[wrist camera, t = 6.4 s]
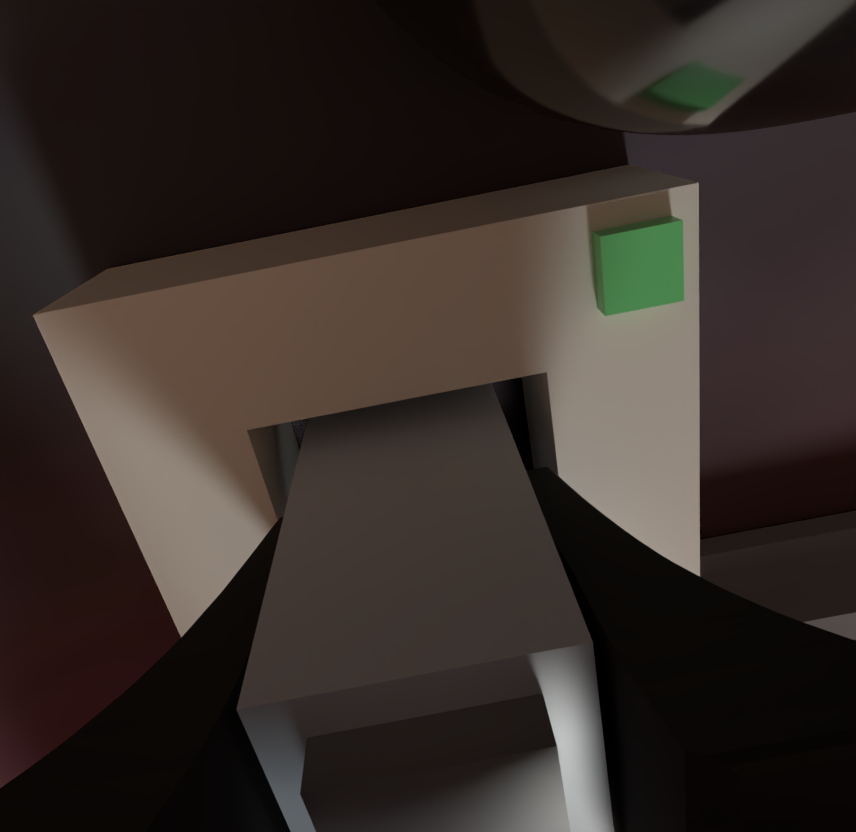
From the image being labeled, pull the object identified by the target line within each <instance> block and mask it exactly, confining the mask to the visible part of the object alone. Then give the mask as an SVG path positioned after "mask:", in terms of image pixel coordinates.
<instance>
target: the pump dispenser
mask: <svg viewBox="0 0 856 832" xmlns="http://www.w3.org/2000/svg"><path fill="white" fill-rule="evenodd" d="M374 1H375V2H376V3H377V4H378V5H379V6H380V7H381V8H382V9H383V10H384V11H385V12H386V13H387V14H388V15H389V16H390V17H391V18H392V19H393V20H394V21H395V22H396V23H397V24H398V25H399V26H400V27H401V28H402V29H403V30H404V31H405V32H406V33H407V34H409V35H410V36H411V37H412V38H413V39H414V40H415V41H417V42H418V43H419V44H420V45H421V46H422V47H424V48H425V49H426V50H427V51H429V52H430V53H431V54H432V55H434V56H435V57H436V58H438V59H439V60H440V61H442V62H443V63H445V64H446V65H447V66H449V67H450V68H452V69H453V70H454V71H456V72H457V73H459V74H461V75H462V76H464V77H465V78H467V79H468V80H470V81H472V82H473V83H475V84H477V85H479V86H481V87H482V88H484V89H486V90H488V91H489V92H491V93H493V94H495V95H498V96H500V97H502V98H504V99H506V100H508V101H510V102H512V103H515V104H517V105H519V106H522V107H524V108H527V109H529V110H532V111H535V112H538V113H540V114H543V115H546V116H550V117H553V118H556V119H559V120H563V121H567V122H571V123H575V124H579V125H583V126H588V127H593V128H599V129H604V130H611V131H619V132H627V133H639V134H654V135H701V134H718V133H728V132H739V131H747V130H755V129H762V128H769V127H775V126H782V125H788V124H793V123H799V122H805V121H810V120H816V119H821V118H827V117H832V116H837V115H842V114H847V113H852V112H856V0H374Z"/></svg>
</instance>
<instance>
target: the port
mask: <svg viewBox="0 0 856 832" xmlns="http://www.w3.org/2000/svg"><path fill="white" fill-rule="evenodd" d="M33 317H34V319H35V321H36V323H37V325H38V328H39V330H40V332H41V334H42V336H43V339H44V341H45V343H46V345H47V347H48V349H49V352H50V354H51V356H52V358H53V360H54V362H55V365H56V367H57V369H58V371H59V373H60V375H61V378H62V380H63V382H64V384H65V386H66V388H67V391H68V393H69V395H70V397H71V399H72V401H73V404H74V406H75V408H76V410H77V412H78V415H79V417H80V419H81V421H82V423H83V425H84V428H85V430H86V432H87V434H88V436H89V438H90V441H91V443H92V445H93V447H94V449H95V451H96V454H97V456H98V458H99V460H100V462H101V464H102V467H103V469H104V471H105V473H106V475H107V478H108V480H109V482H110V484H111V486H112V488H113V491H114V493H115V495H116V497H117V499H118V501H119V504H120V506H121V508H122V510H123V512H124V514H125V517H126V519H127V521H128V523H129V525H130V527H131V530H132V532H133V534H134V536H135V538H136V540H137V543H138V545H139V547H140V549H141V551H142V554H143V556H144V558H145V560H146V562H147V564H148V567H149V569H150V571H151V573H152V575H153V577H154V580H155V582H156V584H157V586H158V588H159V590H160V593H161V595H162V597H163V599H164V601H165V603H166V606H167V608H168V610H169V612H170V614H171V616H172V619H173V621H174V623H175V625H176V627H177V630H178V632H179V634H180V636H181V637H182V636H183V635H184V634H185V633H186V632H187V631H188V629H189V628H190V627H191V626H192V625H193V624H194V623H195V622H196V620H197V619H198V618H199V617H200V616H201V615H202V614H203V612H204V611H205V610H206V609H207V608H208V607H209V606H210V605H211V603H212V602H213V601H214V600H215V599H216V598H217V597H218V595H219V594H220V593H221V592H222V591H223V590H224V588H225V587H226V586H227V585H228V583H229V582H230V581H231V580H232V578H233V577H234V576H235V575H236V573H237V572H238V571H239V569H240V568H241V567H242V566H243V564H244V563H245V562H246V561H247V559H248V558H249V557H250V556H251V554H252V553H253V552H254V550H255V549H256V548H257V546H258V545H259V544H260V542H261V541H262V540H263V539H264V537H265V536H266V535H267V533H268V532H269V531H270V529H271V528H272V527H273V526H274V524H275V523H276V522H277V521H278V520H279V518H280V517H284V513H285V509H286V505H287V501H288V497H289V493H290V489H291V485H292V480H293V476H294V472H295V468H296V464H297V460H298V456H299V452H300V450H299V446H298V443H297V440H296V437H295V433H294V430H293V427H292V423H291V422H292V421H297V420H302V419H307V418H312V417H317V416H323V415H328V414H333V413H338V412H343V411H348V410H354V409H359V408H364V407H369V406H374V405H379V404H385V403H390V402H395V401H400V400H405V399H410V398H416V397H421V396H426V395H431V394H436V393H441V392H447V391H452V390H457V389H462V388H467V387H472V386H478V385H483V384H488V383H493V382H498V381H503V380H509V379H514V378H519V377H522V384H523V392H524V400H525V407H526V415H527V423H528V430H529V438H530V445H531V453H532V461H533V468H534V469H537V468H542V467H548V468H549V469H551V470H552V471H554V472H555V473H556V474H557V475H558V476H559V477H560V478H561V479H562V480H563V481H565V482H566V483H567V484H568V485H569V486H570V487H571V488H572V489H574V490H575V491H576V492H577V493H578V494H579V495H581V496H582V497H583V498H584V499H585V500H586V501H588V502H589V503H590V504H591V505H592V506H594V507H595V508H596V509H597V510H599V511H600V512H601V513H603V514H604V515H605V516H606V517H608V518H609V519H610V520H612V521H613V522H614V523H616V524H617V525H618V526H620V527H621V528H622V529H624V530H625V531H626V532H628V533H629V534H631V535H632V536H633V537H635V538H636V539H638V540H639V541H641V542H642V543H644V544H645V545H647V546H648V547H650V548H651V549H653V550H654V551H656V552H657V553H659V554H660V555H662V556H664V557H665V558H667V559H669V560H670V561H672V562H674V563H676V564H677V565H679V566H681V567H683V568H685V569H687V570H688V571H690V572H692V573H694V574H696V575H698V576H700V439H699V183H698V182H694V181H690V180H687V179H683V178H679V177H675V176H671V175H667V174H664V173H660V172H656V171H652V170H648V169H645V168H641V167H637V166H633V165H624V166H619V167H614V168H609V169H604V170H599V171H594V172H589V173H584V174H579V175H574V176H569V177H564V178H559V179H554V180H549V181H544V182H539V183H534V184H529V185H524V186H519V187H514V188H509V189H504V190H499V191H494V192H489V193H484V194H479V195H474V196H469V197H464V198H459V199H454V200H449V201H444V202H439V203H434V204H429V205H424V206H419V207H414V208H409V209H404V210H399V211H394V212H389V213H384V214H379V215H374V216H369V217H364V218H359V219H354V220H349V221H344V222H339V223H334V224H329V225H324V226H319V227H314V228H309V229H304V230H299V231H294V232H289V233H284V234H279V235H274V236H269V237H264V238H259V239H254V240H249V241H244V242H239V243H234V244H229V245H224V246H219V247H214V248H209V249H204V250H199V251H194V252H189V253H184V254H179V255H174V256H169V257H164V258H159V259H154V260H149V261H144V262H139V263H134V264H129V265H124V266H119V267H114V268H109V269H106V270H105V271H103V272H101V273H100V274H98V275H97V276H95V277H93V278H92V279H90V280H88V281H87V282H85V283H84V284H82V285H80V286H79V287H77V288H76V289H74V290H72V291H71V292H69V293H67V294H66V295H64V296H63V297H61V298H59V299H58V300H56V301H54V302H53V303H51V304H50V305H48V306H46V307H45V308H43V309H41V310H40V311H38V312H37V313H35V314H33Z"/></svg>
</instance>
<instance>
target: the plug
mask: <svg viewBox="0 0 856 832" xmlns="http://www.w3.org/2000/svg"><path fill="white" fill-rule="evenodd" d="M236 710H237V712H238V714H239V716H240V719H241V721H242V723H243V725H244V728H245V730H246V732H247V734H248V737H249V739H250V741H251V743H252V746H253V748H254V750H255V752H256V755H257V757H258V759H259V761H260V764H261V766H262V768H263V770H264V773H265V775H266V777H267V779H268V782H269V784H270V786H271V788H272V791H273V793H274V795H275V797H276V800H277V802H278V804H279V806H280V809H281V811H282V813H283V815H284V818H285V820H286V822H287V824H288V827H289V829H290V831H291V832H614V827H613V818H612V809H611V800H610V791H609V783H608V774H607V765H606V756H605V747H604V738H603V729H602V720H601V711H600V702H599V693H598V684H597V675H596V666H595V657H594V648H593V641H592V639H591V636H590V634H589V631H588V628H587V626H586V623H585V621H584V618H583V616H582V613H581V611H580V608H579V605H578V603H577V600H576V598H575V595H574V593H573V590H572V587H571V585H570V582H569V580H568V577H567V575H566V572H565V570H564V567H563V564H562V562H561V559H560V557H559V554H558V552H557V549H556V546H555V544H554V541H553V539H552V536H551V534H550V531H549V529H548V526H547V523H546V521H545V518H544V516H543V513H542V511H541V508H540V506H539V503H538V500H537V498H536V495H535V493H534V490H533V488H532V485H531V482H530V480H529V477H528V475H527V472H526V470H525V467H524V465H523V462H522V459H521V457H520V454H519V452H518V449H517V447H516V444H515V441H514V439H513V436H512V434H511V431H510V429H509V426H508V424H507V421H506V418H505V416H504V413H503V411H502V408H501V406H500V403H499V400H498V398H497V395H496V393H495V390H494V388H493V385H492V383H488V384H483V385H478V386H472V387H467V388H462V389H457V390H452V391H447V392H441V393H436V394H431V395H426V396H421V397H416V398H410V399H405V400H400V401H395V402H390V403H385V404H379V405H374V406H369V407H364V408H359V409H354V410H348V411H343V412H338V413H333V414H328V415H323V416H317V417H312V418H308V419H307V423H306V427H305V431H304V435H303V440H302V444H301V448H300V452H299V456H298V460H297V464H296V468H295V472H294V476H293V480H292V485H291V489H290V493H289V497H288V501H287V505H286V509H285V513H284V517H283V521H282V525H281V529H280V534H279V538H278V542H277V546H276V550H275V554H274V558H273V562H272V566H271V570H270V574H269V579H268V583H267V587H266V591H265V595H264V599H263V603H262V607H261V611H260V615H259V619H258V624H257V628H256V632H255V636H254V640H253V644H252V648H251V652H250V656H249V660H248V664H247V668H246V673H245V677H244V681H243V685H242V689H241V693H240V697H239V701H238V705H237V709H236Z"/></svg>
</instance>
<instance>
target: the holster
mask: <svg viewBox="0 0 856 832" xmlns="http://www.w3.org/2000/svg"><path fill="white" fill-rule="evenodd" d="M700 577H701V578H703V579H705V580H707V581H709V582H711V583H713V584H715V585H717V586H719V587H721V588H723V589H725V590H727V591H729V592H732V593H734V594H736V595H738V596H741V597H743V598H745V599H748V600H750V601H752V602H754V603H757V604H759V605H761V606H763V607H766V608H768V609H770V610H773V611H775V612H778V613H780V614H783V615H785V616H788V617H791V618H793V619H796V620H798V621H801V622H804V623H806V624H809V625H812V626H815V627H818V628H821V629H824V630H826V631H829V632H832V633H835V634H838V635H841V636H844V637H847V638H849V639H853V640H856V511H851V512H845V513H840V514H835V515H829V516H824V517H819V518H813V519H808V520H803V521H797V522H792V523H787V524H781V525H776V526H771V527H765V528H760V529H754V530H749V531H744V532H738V533H733V534H728V535H722V536H717V537H712V538H706V539H701V540H700Z"/></svg>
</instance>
